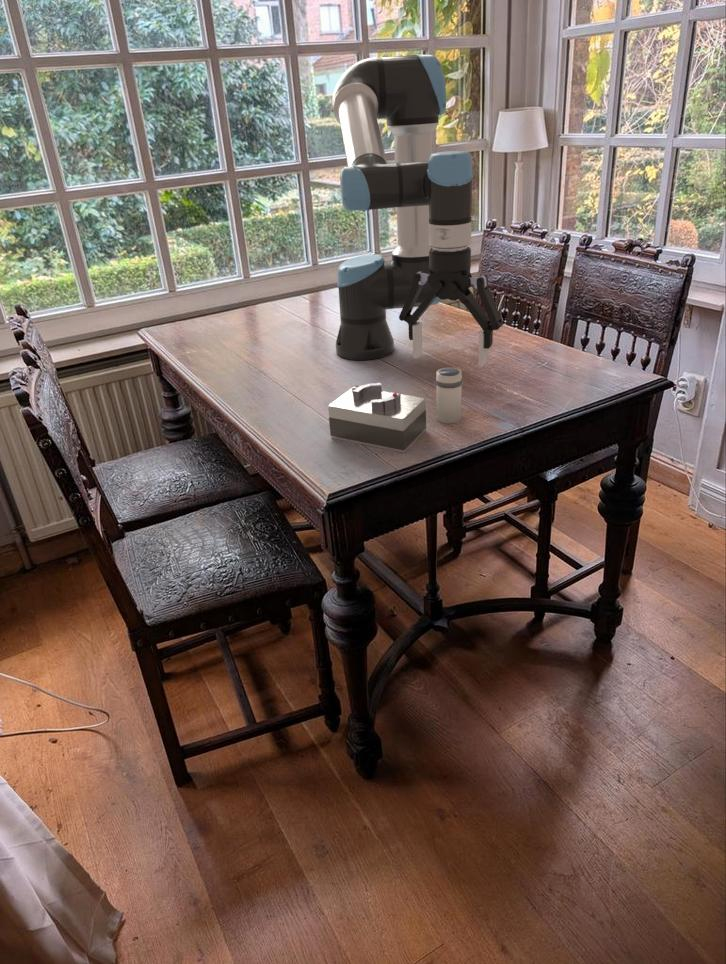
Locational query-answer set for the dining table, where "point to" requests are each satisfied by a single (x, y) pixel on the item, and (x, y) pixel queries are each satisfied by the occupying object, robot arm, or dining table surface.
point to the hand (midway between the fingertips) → (449, 360)
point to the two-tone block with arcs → (377, 418)
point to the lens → (448, 395)
